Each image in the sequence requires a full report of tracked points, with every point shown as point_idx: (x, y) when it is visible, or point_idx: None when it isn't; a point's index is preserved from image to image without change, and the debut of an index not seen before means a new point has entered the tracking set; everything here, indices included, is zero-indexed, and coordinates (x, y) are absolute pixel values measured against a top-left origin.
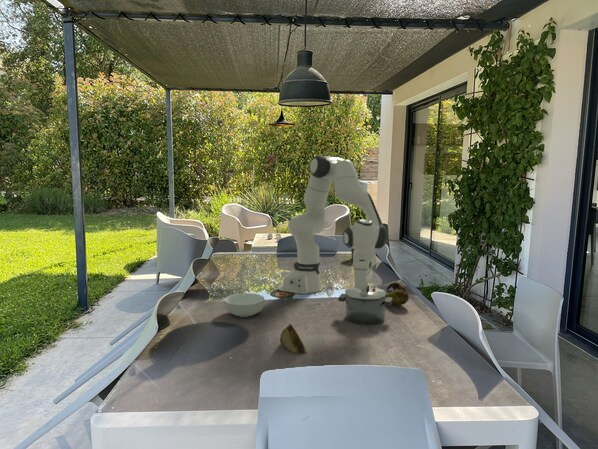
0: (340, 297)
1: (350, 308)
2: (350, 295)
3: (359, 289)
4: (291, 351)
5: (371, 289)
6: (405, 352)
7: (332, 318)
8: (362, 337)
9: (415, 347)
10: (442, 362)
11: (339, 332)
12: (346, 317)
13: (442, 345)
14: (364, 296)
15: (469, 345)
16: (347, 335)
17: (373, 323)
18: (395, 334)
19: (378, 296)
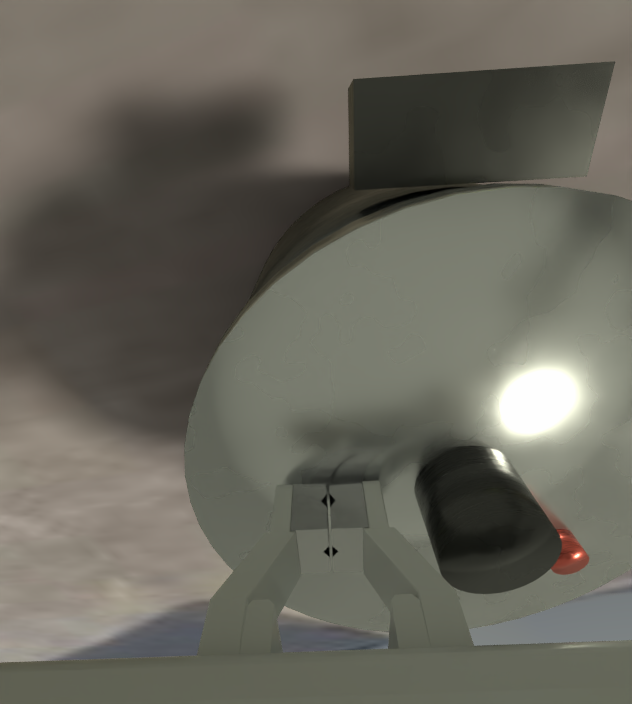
0: (360, 116)
1: (261, 280)
2: (218, 349)
3: (588, 395)
4: None
5: (598, 513)
6: (14, 558)
7: (303, 49)
8: (45, 385)
9: (90, 578)
10: (21, 639)
11: (21, 226)
12: (323, 201)
13: (168, 634)
14: (221, 519)
15: None
16: (10, 296)
17: None
18: (190, 509)
19: (295, 609)
